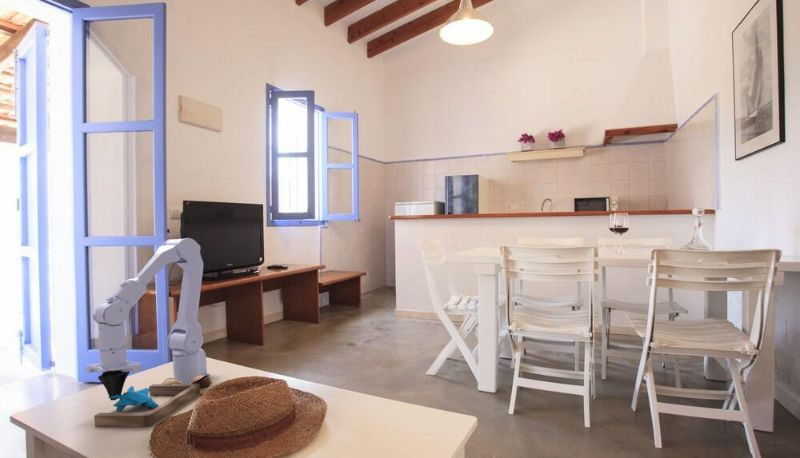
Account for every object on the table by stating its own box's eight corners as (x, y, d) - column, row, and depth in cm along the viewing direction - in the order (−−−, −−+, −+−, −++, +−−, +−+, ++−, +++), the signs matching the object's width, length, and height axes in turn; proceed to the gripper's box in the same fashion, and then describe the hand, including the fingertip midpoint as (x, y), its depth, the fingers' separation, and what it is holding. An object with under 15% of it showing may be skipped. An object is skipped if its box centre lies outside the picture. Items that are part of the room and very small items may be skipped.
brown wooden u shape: (153, 392, 113) (153, 384, 113) (200, 392, 111) (199, 383, 111) (94, 426, 94) (94, 415, 94) (149, 426, 93) (148, 415, 93)
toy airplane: (105, 419, 98) (104, 402, 97) (114, 404, 106) (113, 388, 106) (160, 408, 103) (159, 392, 102) (164, 394, 111) (163, 379, 111)
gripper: (74, 353, 101) (77, 405, 101) (125, 352, 99) (128, 405, 99) (98, 344, 108) (101, 393, 108) (146, 343, 106) (149, 393, 106)
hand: (115, 398), depth 104 cm, fingers closed
